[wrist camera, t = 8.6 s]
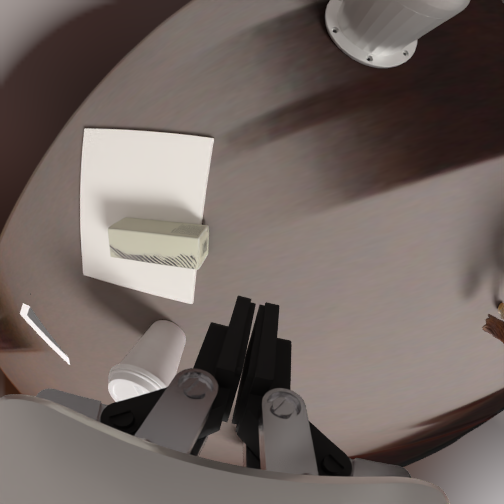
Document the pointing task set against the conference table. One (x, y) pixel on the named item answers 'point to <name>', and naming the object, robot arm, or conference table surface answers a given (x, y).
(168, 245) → the box
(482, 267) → the conference table surface
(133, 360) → the coffee cup
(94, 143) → the mat
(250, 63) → the conference table surface
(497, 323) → the horse figurine
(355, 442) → the conference table surface
